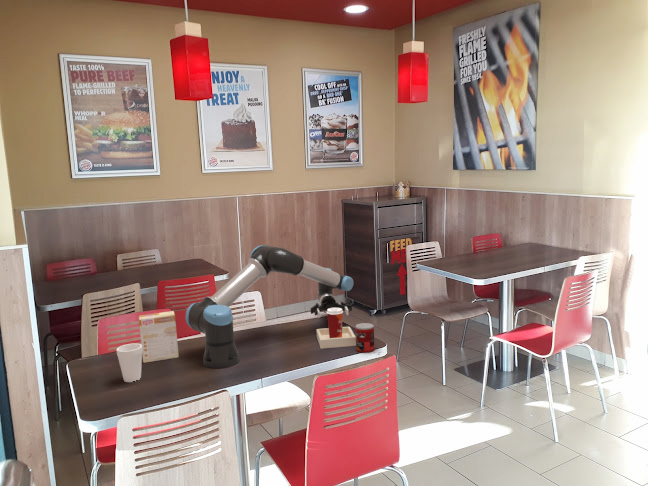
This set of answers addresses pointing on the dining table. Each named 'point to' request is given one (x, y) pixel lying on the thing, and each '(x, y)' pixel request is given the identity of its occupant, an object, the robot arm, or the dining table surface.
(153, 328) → the coffeecake box
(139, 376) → the foam cup
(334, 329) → the paper cup
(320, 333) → the tray
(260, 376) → the dining table surface
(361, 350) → the canned food
